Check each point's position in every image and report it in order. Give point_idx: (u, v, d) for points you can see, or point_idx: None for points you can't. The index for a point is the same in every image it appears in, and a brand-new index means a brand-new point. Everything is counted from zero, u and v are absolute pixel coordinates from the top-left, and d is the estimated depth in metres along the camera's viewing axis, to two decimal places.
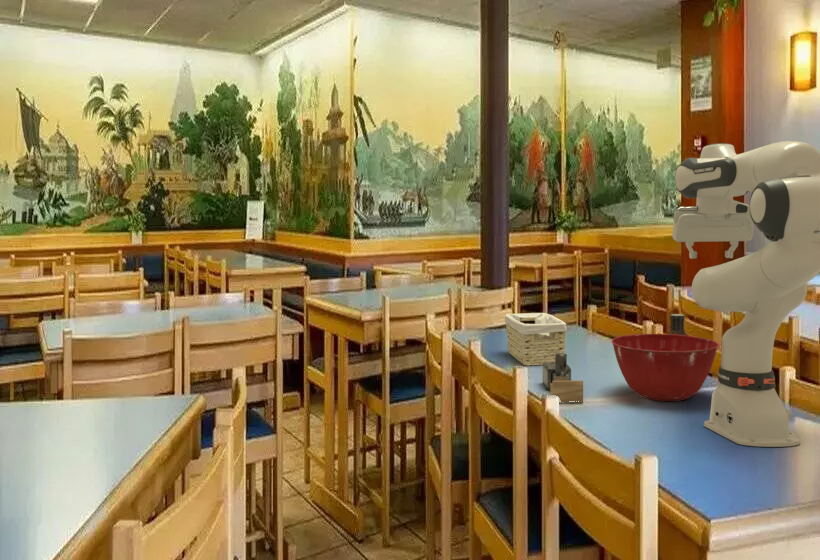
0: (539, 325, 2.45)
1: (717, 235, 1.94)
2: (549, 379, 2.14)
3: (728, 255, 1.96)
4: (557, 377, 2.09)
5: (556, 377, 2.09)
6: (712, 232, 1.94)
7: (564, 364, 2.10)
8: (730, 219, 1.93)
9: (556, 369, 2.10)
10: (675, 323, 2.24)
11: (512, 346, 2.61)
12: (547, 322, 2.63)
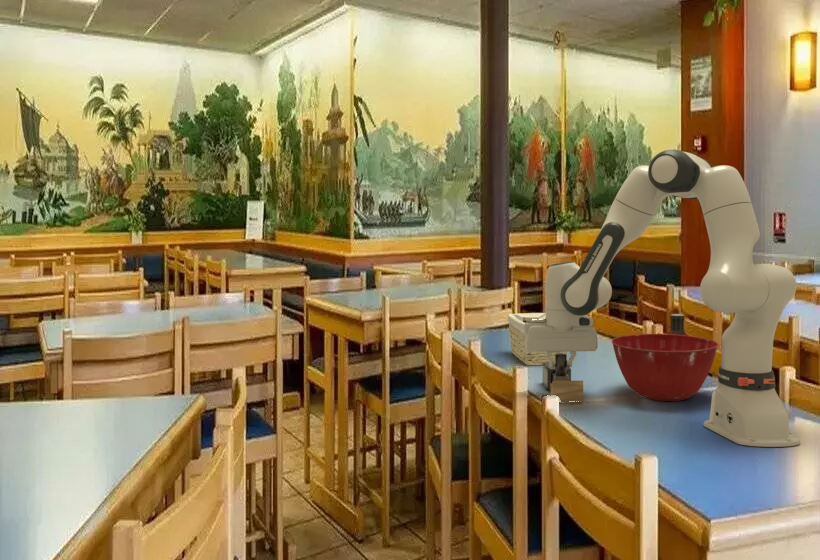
0: None
1: (564, 346, 2.09)
2: (549, 379, 2.14)
3: (567, 364, 2.10)
4: (557, 377, 2.09)
5: (556, 377, 2.09)
6: (559, 343, 2.09)
7: (564, 364, 2.10)
8: (575, 331, 2.08)
9: (556, 369, 2.10)
10: (675, 323, 2.24)
11: (515, 346, 2.61)
12: None
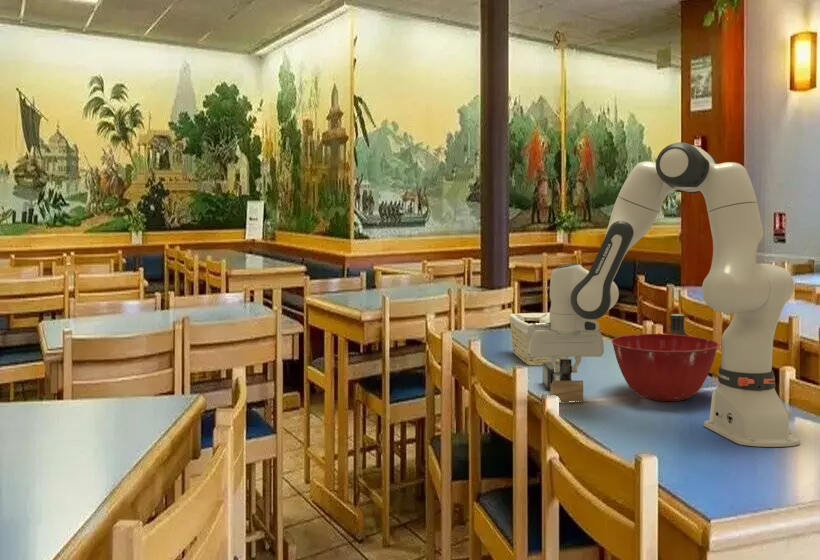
0: None
1: (569, 351, 2.01)
2: (549, 379, 2.14)
3: (572, 370, 2.03)
4: None
5: None
6: (564, 348, 2.01)
7: (569, 370, 2.02)
8: (580, 336, 2.01)
9: (560, 375, 2.03)
10: (675, 323, 2.24)
11: (516, 346, 2.61)
12: None
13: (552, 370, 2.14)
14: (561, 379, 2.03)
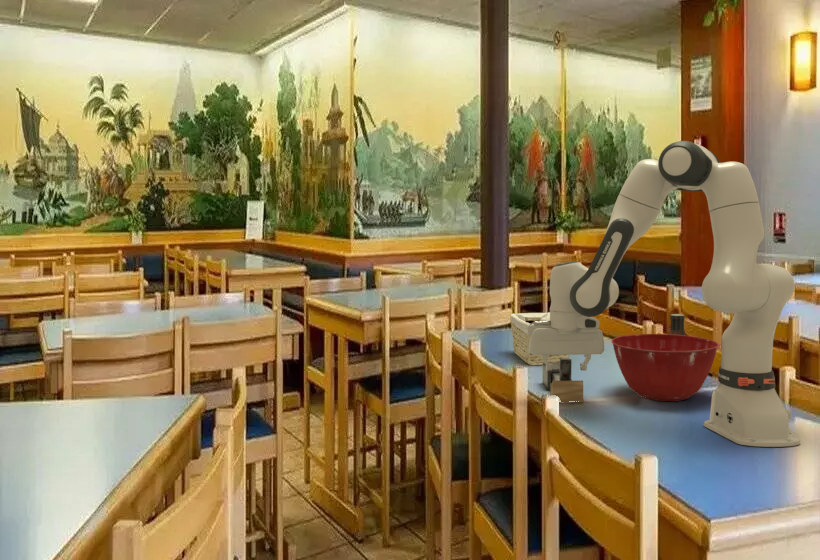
0: None
1: (570, 349, 2.01)
2: (549, 379, 2.14)
3: (582, 368, 2.02)
4: None
5: None
6: (564, 346, 2.01)
7: (569, 370, 2.02)
8: (581, 333, 2.00)
9: (561, 375, 2.03)
10: (675, 323, 2.24)
11: (517, 346, 2.62)
12: None
13: (552, 370, 2.14)
14: (561, 379, 2.03)
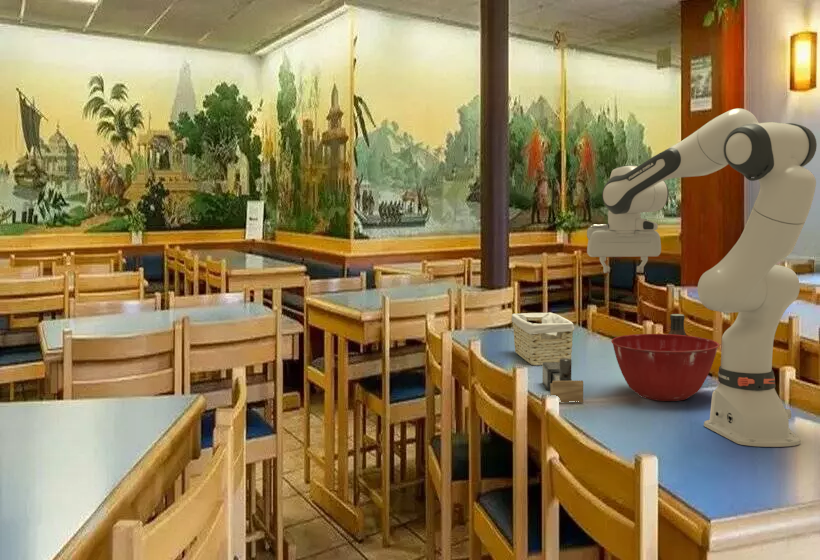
0: (546, 325, 2.45)
1: (627, 251, 2.08)
2: (549, 379, 2.14)
3: (639, 270, 2.10)
4: None
5: None
6: (622, 247, 2.08)
7: (569, 370, 2.02)
8: (639, 235, 2.07)
9: (561, 375, 2.03)
10: (675, 323, 2.24)
11: (519, 346, 2.62)
12: (554, 322, 2.63)
13: (552, 370, 2.14)
14: (561, 379, 2.03)
